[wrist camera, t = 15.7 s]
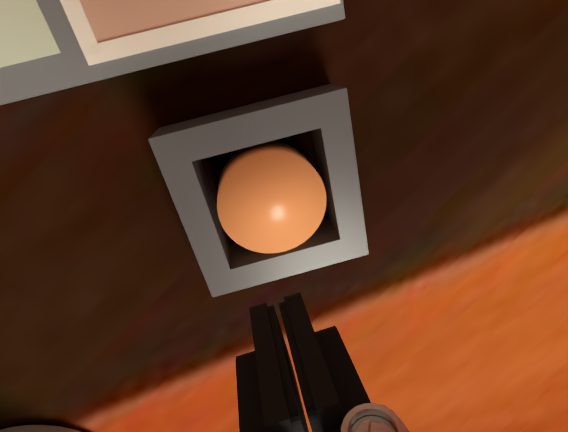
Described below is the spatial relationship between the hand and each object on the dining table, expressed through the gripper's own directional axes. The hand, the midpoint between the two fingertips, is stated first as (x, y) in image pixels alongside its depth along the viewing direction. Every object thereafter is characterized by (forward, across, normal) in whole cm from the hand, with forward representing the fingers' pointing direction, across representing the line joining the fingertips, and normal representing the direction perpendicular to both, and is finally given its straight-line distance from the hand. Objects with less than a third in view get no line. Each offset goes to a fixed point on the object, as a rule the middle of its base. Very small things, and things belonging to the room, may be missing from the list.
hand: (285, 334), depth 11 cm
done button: (+11, -1, -1) cm, 11 cm away
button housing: (+12, -1, -1) cm, 12 cm away
